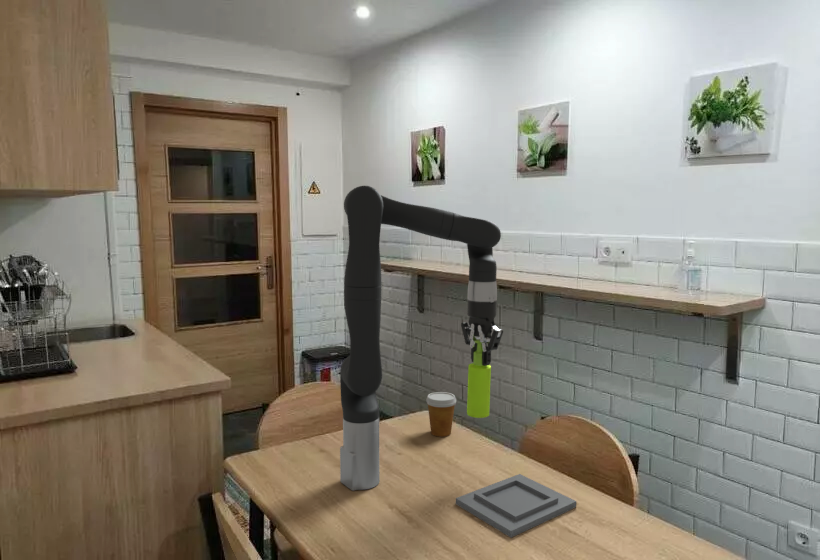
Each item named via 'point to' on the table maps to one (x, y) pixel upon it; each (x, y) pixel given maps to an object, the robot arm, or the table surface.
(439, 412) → the disposable coffee cup
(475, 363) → the soap dispenser
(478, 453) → the table surface
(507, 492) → the stand
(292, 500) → the table surface
